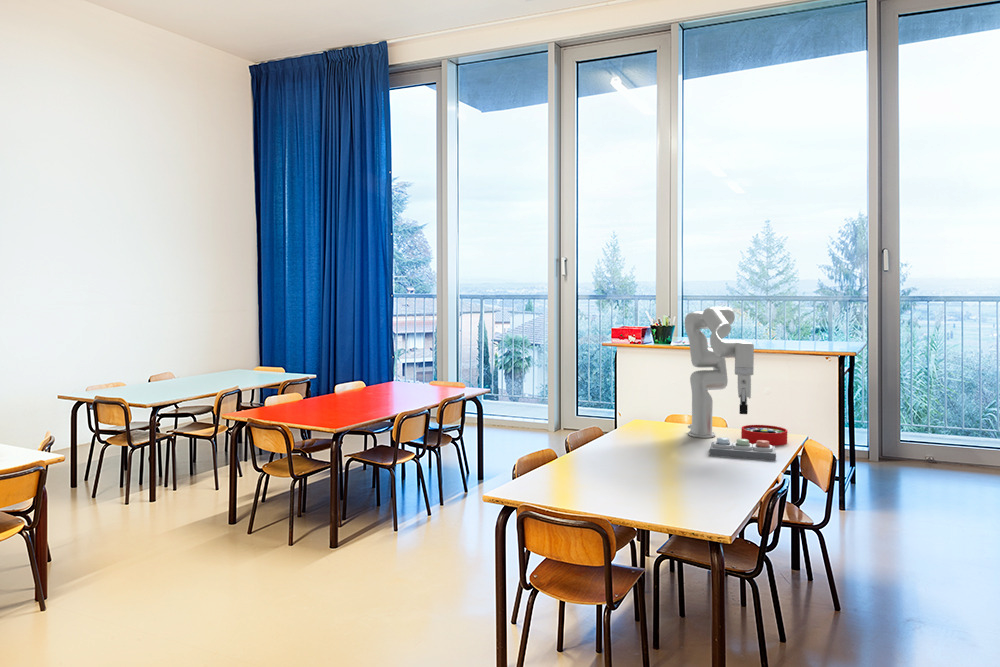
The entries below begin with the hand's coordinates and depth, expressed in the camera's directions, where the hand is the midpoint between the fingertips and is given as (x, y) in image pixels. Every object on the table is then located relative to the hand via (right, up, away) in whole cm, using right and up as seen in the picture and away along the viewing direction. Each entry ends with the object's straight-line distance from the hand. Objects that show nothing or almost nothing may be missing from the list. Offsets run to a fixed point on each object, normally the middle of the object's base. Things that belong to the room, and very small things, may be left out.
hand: (743, 413), depth 289 cm
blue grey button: (-7, -13, +4) cm, 16 cm away
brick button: (+8, -14, -2) cm, 16 cm away
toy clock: (+19, -16, +27) cm, 37 cm away
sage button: (0, -13, +1) cm, 13 cm away
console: (0, -18, +1) cm, 18 cm away
